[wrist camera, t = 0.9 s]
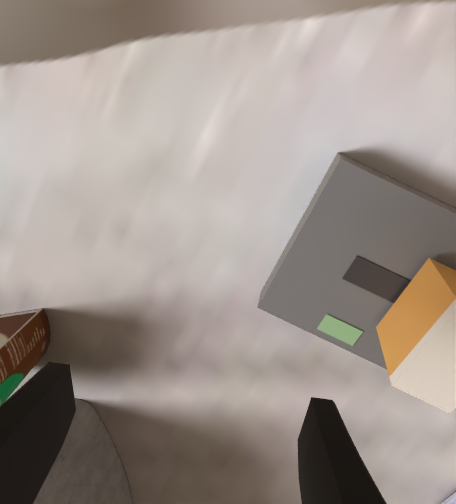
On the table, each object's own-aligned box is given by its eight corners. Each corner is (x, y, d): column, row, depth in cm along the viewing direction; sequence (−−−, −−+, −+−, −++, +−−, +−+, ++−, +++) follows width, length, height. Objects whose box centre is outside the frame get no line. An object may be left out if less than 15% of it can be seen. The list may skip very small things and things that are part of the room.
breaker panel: (601, 277, 21) (630, 296, 19) (479, 395, 26) (492, 420, 24) (337, 152, 21) (340, 159, 19) (261, 291, 26) (257, 308, 24)
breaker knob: (480, 282, 20) (527, 336, 16) (422, 349, 22) (449, 413, 18) (428, 257, 20) (461, 305, 16) (376, 327, 22) (391, 385, 18)
